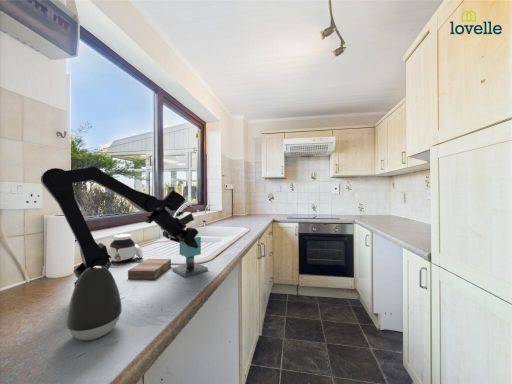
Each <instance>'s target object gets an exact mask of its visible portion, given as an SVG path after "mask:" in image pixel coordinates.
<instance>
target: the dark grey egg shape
mask: <svg viewBox="0 0 512 384" xmlns="http://www.w3.org/2000/svg"><path fill="white" fill-rule="evenodd" d="M111 266H112V264H111V262H110V263H107V264H106V265H105V266H99V265H96V266H92V267H90V268H88V269H86V270H85V271H84V272H83V273H82V274H81V276H80V277H79V279H78V278H77V279H78V281H77V283H76V285H75V286H74V288H73V290H72V293H71V297H70V300H69V302H70V303H69V302H68V304H69V305H68V308H67V314H66V323H65V324H66V328H67V329H68V330H69V332H70V335H72V336H73V337H74V338H75V339H77V340H80V341H92V340H96V339H99V338H102V337H103V336H106V335H107V334H108V333H109V332H111V331H112V330H113V329H114V327H116V325H117V323H118V321H119V319H120V317H121V314H122V311H123V307H122V300H121V294H120V291H119V287H118V285H117V282H116V280H115V278H114V276H113V274H112V272H110V270H109V269H110V267H111Z"/></svg>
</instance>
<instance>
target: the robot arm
mask: <svg viewBox="0 0 512 384" xmlns="http://www.w3.org/2000/svg"><path fill="white" fill-rule="evenodd" d="M87 181H90V182H93V183H95V184H96V185H99V186H100V187H102V188H104V189H106V190H108V191H110V192H111V193H113V194H115V195H118V196H119V197H121V198H123V199H124V200H127V202H129V203H130V205H132V206H133V207H134V208H136V210H139V211H140V212H144V213H150V214H147V215H145V221H144V222H145V223H146V224H151V223H153V222H154V223H155V224H156V225H157V226H158V227H160V230H161V231H162V236H163V237H164V238H165V239H167V240H169V241H172V242H175V243H179V244H180V242H181V243H182V244H184V245H187V246H190V247H193V248H196V249H197V248H198V244H197V242H196V240H195V237H196V236H198V234H199V231H198V230H197V229H196V228H195V227H187V224H189V223H191V222H193V221H195V218H194V216H193V214H192V212H191V211H184V212H182V211H181V210H180V211H179V209H180V207H182V205H183V204H184V203H186V198H185V197H184V196H183V195H181V194H180V193H179V192H177V191H175V189H170V190H169V191H168V193H167V194H166V195H165V196H164V197H163V198H162V199H161V198H157V197H156V196H154V195H151V194H148V193H146V192H142V191H140V190H136V189H134V188H133V187H131V186H129V185H127V184H125V183H123V182H122V181H120V180H118V179H116V178H115V177H113V176H111V175H110V174H108V173H106V172H104V171H103V170H101V169H100V168H99V167H97V166H90V167H85V168H76V169H74V168H73V169H69V170H65V169H63V168H57V167H53V168H50V169H47V170H46V171H45V172H44V173H42V175H41V176H40V182H41V185H42V187H44V188H45V190H46V191H47V192H48V193H49V194H50V196H51V197H52V198H53V199H54V200H55V202H56V203H57V204H58V206H59V209H60V210H61V212H62V214H63V217H64V219H65V220H66V222H67V225H68V226H69V228H70V231H71V233H72V234H73V236H74V239H75V240H76V243H77V244H78V247H79V253H80V257H81V258H80V259H81V263H80V264H79V265H78V266H77V267H76V268H75V269H74V270H73V273H74V276H75V277H76V278H77V279H76V280H75V282H73V283H74V285H73V286H74V287H75V285H76V283H77V281H78V279H79V277H80V276H81V274H82V273H83V272H84V271H85V270H86V269H88V268H90V267H92V266H96V265H99V266H105V265H106V264H107V263H111V259H110V258H111V256H110V253H108V248H107V246H106V244H104V243H101V242H100V243H97V242H96V240H95V238H94V236H93V233H92V232H91V230H90V228H89V226H88V223H87V222H86V219H85V217H84V216H83V213H82V211H81V209H80V206H79V204H78V203H77V201H76V198H75V192H74V185H73V184H75V183H81V182H87ZM171 213H175V215H176V216H175V217H174V216H173V215H172V214H171ZM186 227H187V228H186ZM185 228H186V229H185ZM179 238H180V239H179ZM69 303H70V301H69V302H68V304H69Z"/></svg>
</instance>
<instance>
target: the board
mask: <svg viewBox="0 0 512 384" xmlns="http://www.w3.org/2000/svg"><path fill="white" fill-rule="evenodd" d="M171 267H172V259H170V258H167V259H166V258H148V259H145V260H144V261H142V262H140V263H138V264H137V265H135V266H133V267H132V268H129V269H128V270H127V278H128V279H132V280H136V279H137V280H155V279H157V278H158V277H159V276H161V275H162V274H164V273H165V272H166V271H167V270H168V269H169V268H171ZM128 279H127V280H128Z"/></svg>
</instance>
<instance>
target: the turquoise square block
mask: <svg viewBox="0 0 512 384" xmlns="http://www.w3.org/2000/svg"><path fill="white" fill-rule="evenodd" d="M179 239H180V238H179ZM201 239H202V238H201V236H199V235H196V237H195V240H196V242H197V244H198V248H197V249H196V248H193V247H190V246H187V245H184V244H182V243H181V242H180V243H179V255H181V256H182V257H185V258H186V257H191V256H194V257H196V256H200V255H201V254H202V250H201V249H202V244H201V243H202V240H201Z"/></svg>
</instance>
